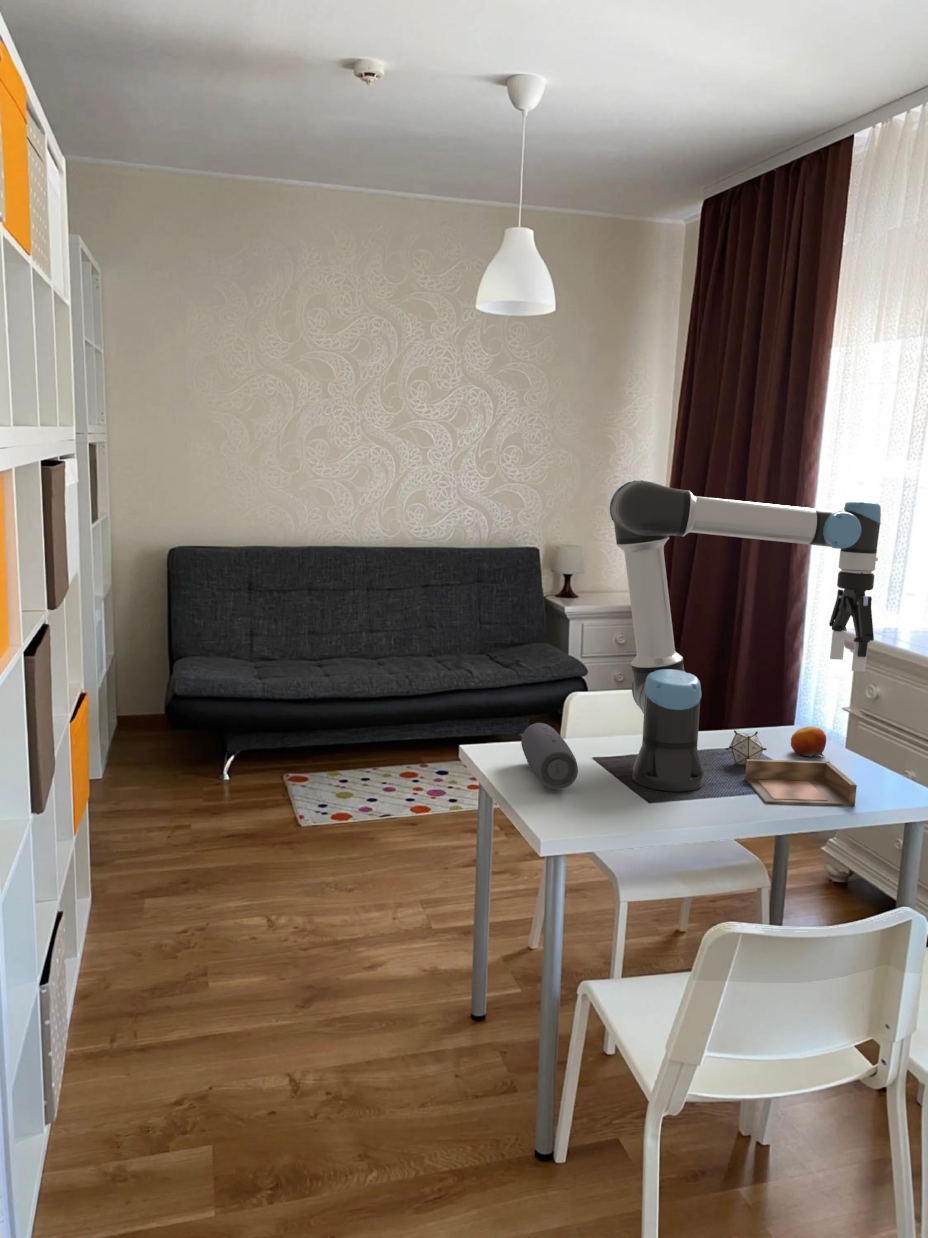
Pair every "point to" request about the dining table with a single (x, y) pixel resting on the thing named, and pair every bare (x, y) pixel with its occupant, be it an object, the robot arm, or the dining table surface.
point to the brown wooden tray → (800, 782)
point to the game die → (745, 747)
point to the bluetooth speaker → (549, 756)
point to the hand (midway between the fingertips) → (847, 665)
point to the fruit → (808, 741)
